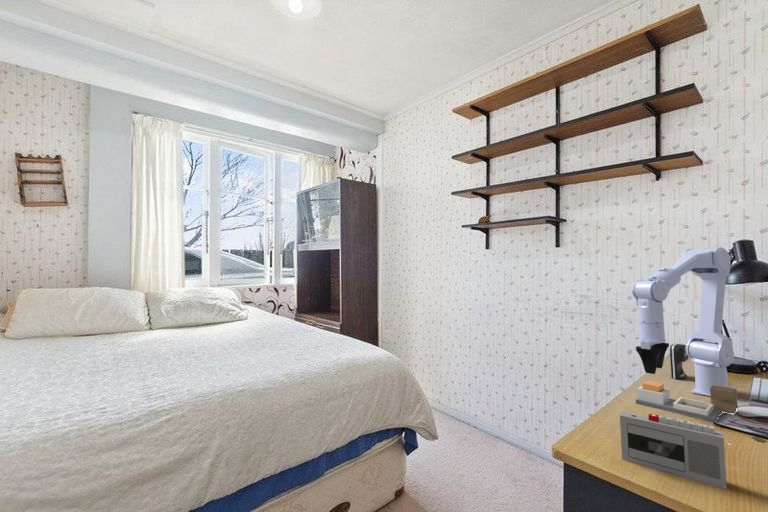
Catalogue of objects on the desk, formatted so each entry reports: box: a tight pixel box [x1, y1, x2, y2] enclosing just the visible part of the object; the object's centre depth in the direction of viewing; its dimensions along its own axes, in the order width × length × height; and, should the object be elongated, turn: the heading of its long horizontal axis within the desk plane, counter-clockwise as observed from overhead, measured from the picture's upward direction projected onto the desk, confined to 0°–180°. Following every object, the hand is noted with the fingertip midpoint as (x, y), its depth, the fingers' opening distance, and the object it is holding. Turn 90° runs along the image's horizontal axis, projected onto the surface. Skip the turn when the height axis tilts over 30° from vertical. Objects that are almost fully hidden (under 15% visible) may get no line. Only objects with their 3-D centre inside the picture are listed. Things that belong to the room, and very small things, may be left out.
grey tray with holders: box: [635, 385, 723, 423], centre depth 98 cm, size 8×17×4 cm, turn 38°
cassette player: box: [619, 410, 728, 490], centre depth 70 cm, size 16×3×10 cm, turn 47°
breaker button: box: [641, 379, 665, 393], centre depth 103 cm, size 4×4×3 cm
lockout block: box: [710, 385, 739, 413], centre depth 96 cm, size 4×4×6 cm
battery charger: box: [669, 343, 689, 380], centre depth 124 cm, size 7×4×11 cm, turn 128°
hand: (654, 370), depth 102 cm, fingers open, 7 cm apart
